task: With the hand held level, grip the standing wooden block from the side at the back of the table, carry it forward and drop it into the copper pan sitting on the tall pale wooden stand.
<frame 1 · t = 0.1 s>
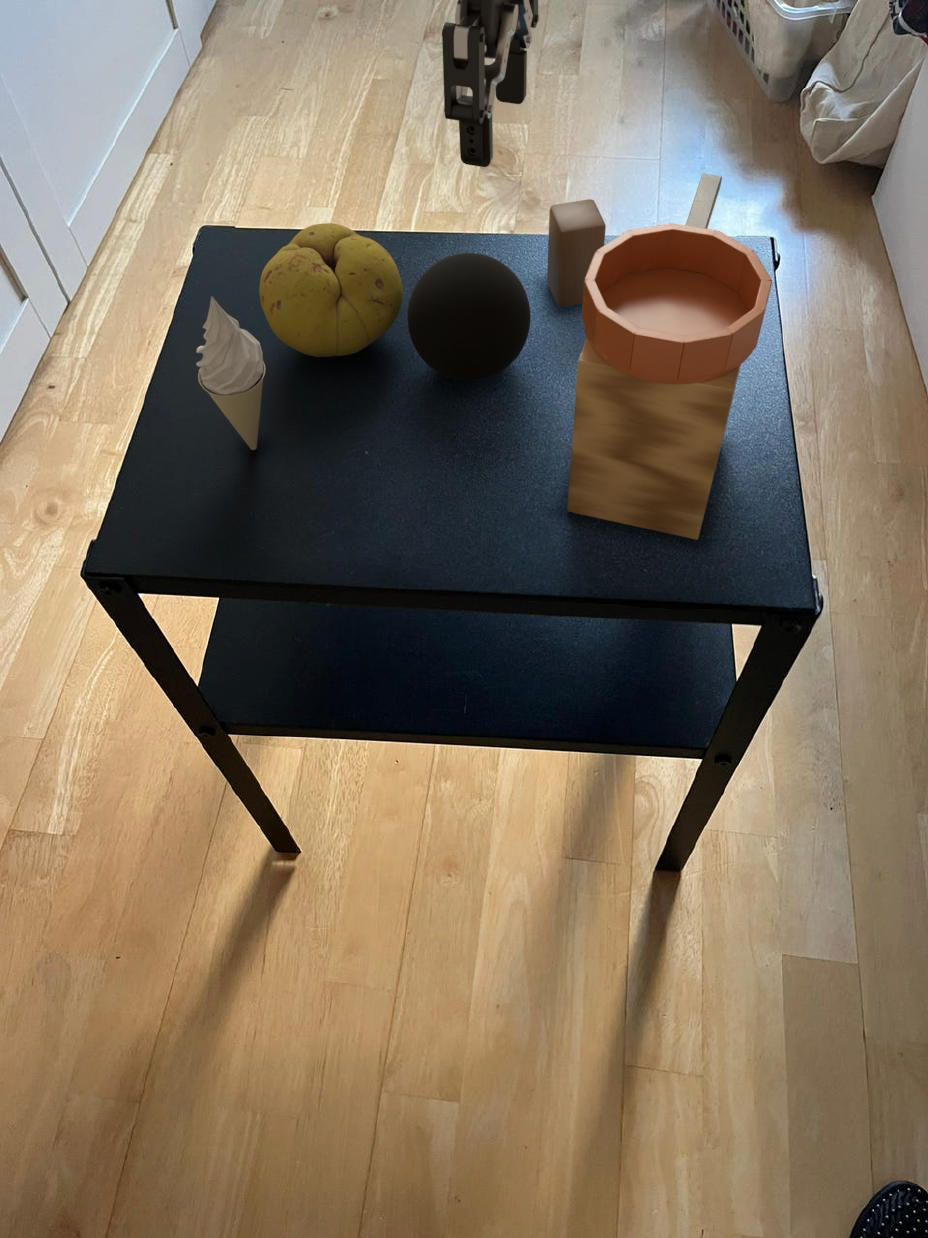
hand: (494, 130, 76), 18 cm above the table, tool pointing down, fingers open, 8 cm apart
ice cream cone: (254, 449, 84), on the table
wooden block: (572, 294, 94), on the table
decorative ball: (470, 366, 89), on the table
pan: (670, 324, 68), resting on stand
fruit: (340, 341, 91), on the table
stand: (645, 477, 81), on the table
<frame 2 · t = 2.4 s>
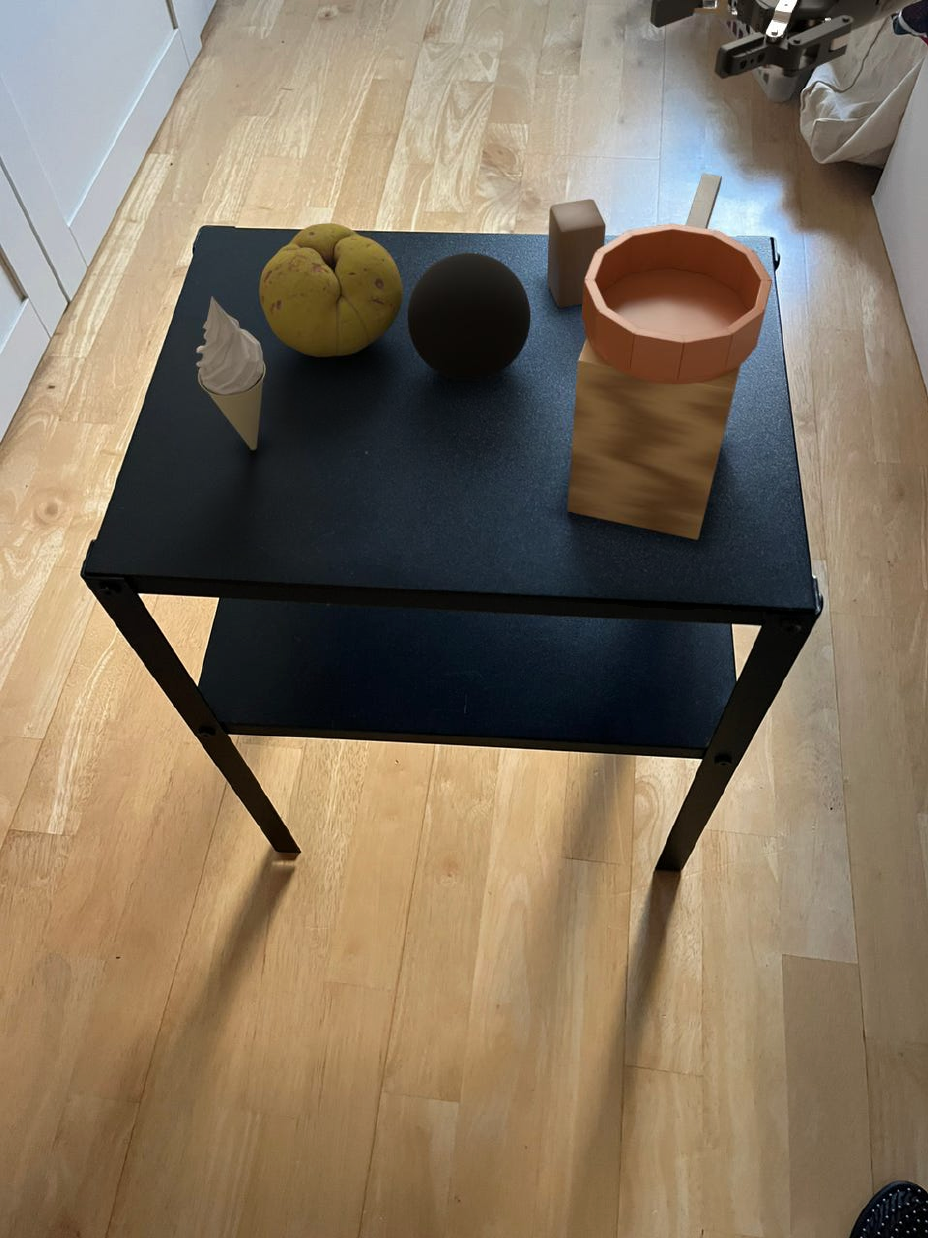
hand: (685, 37, 79), 20 cm above the table, tool horizontal, fingers open, 8 cm apart
nothing on the table moved.
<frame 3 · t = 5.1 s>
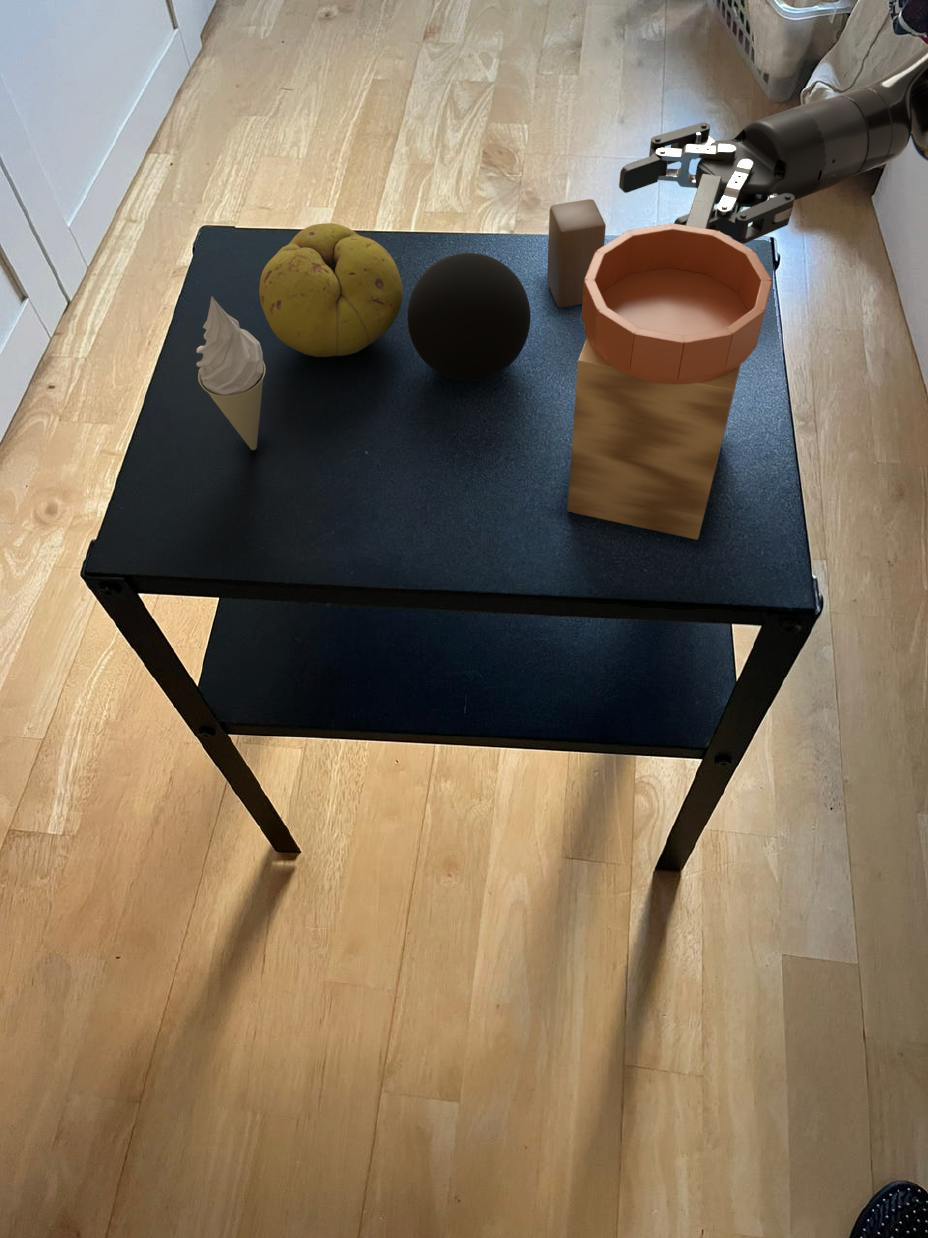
hand: (647, 206, 90), 6 cm above the table, tool horizontal, fingers open, 8 cm apart
nothing on the table moved.
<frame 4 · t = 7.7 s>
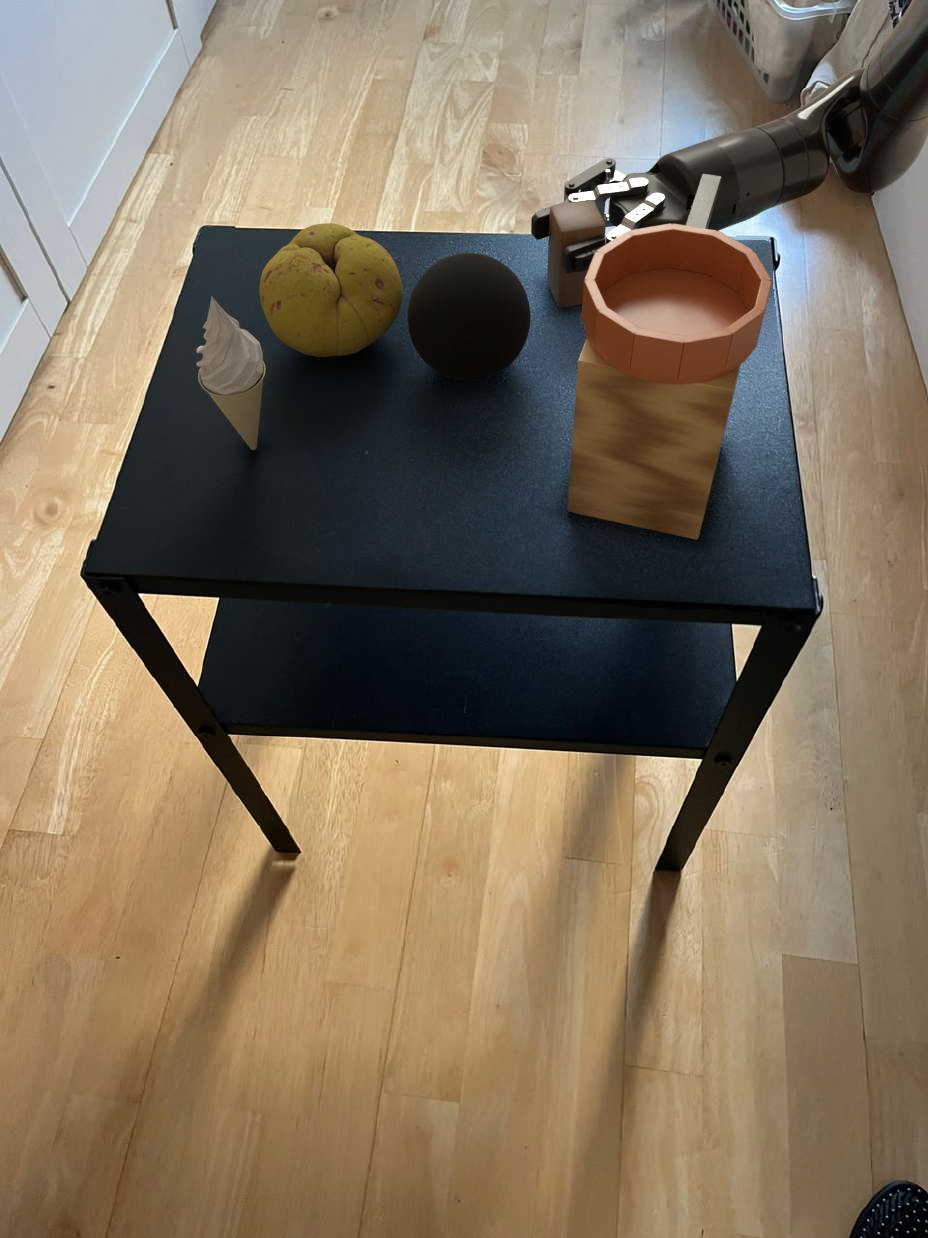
hand: (549, 244, 88), 6 cm above the table, tool horizontal, fingers closed on wooden block, 4 cm apart
wooden block: (572, 294, 94), on the table, touching gripper
everything else where it was.
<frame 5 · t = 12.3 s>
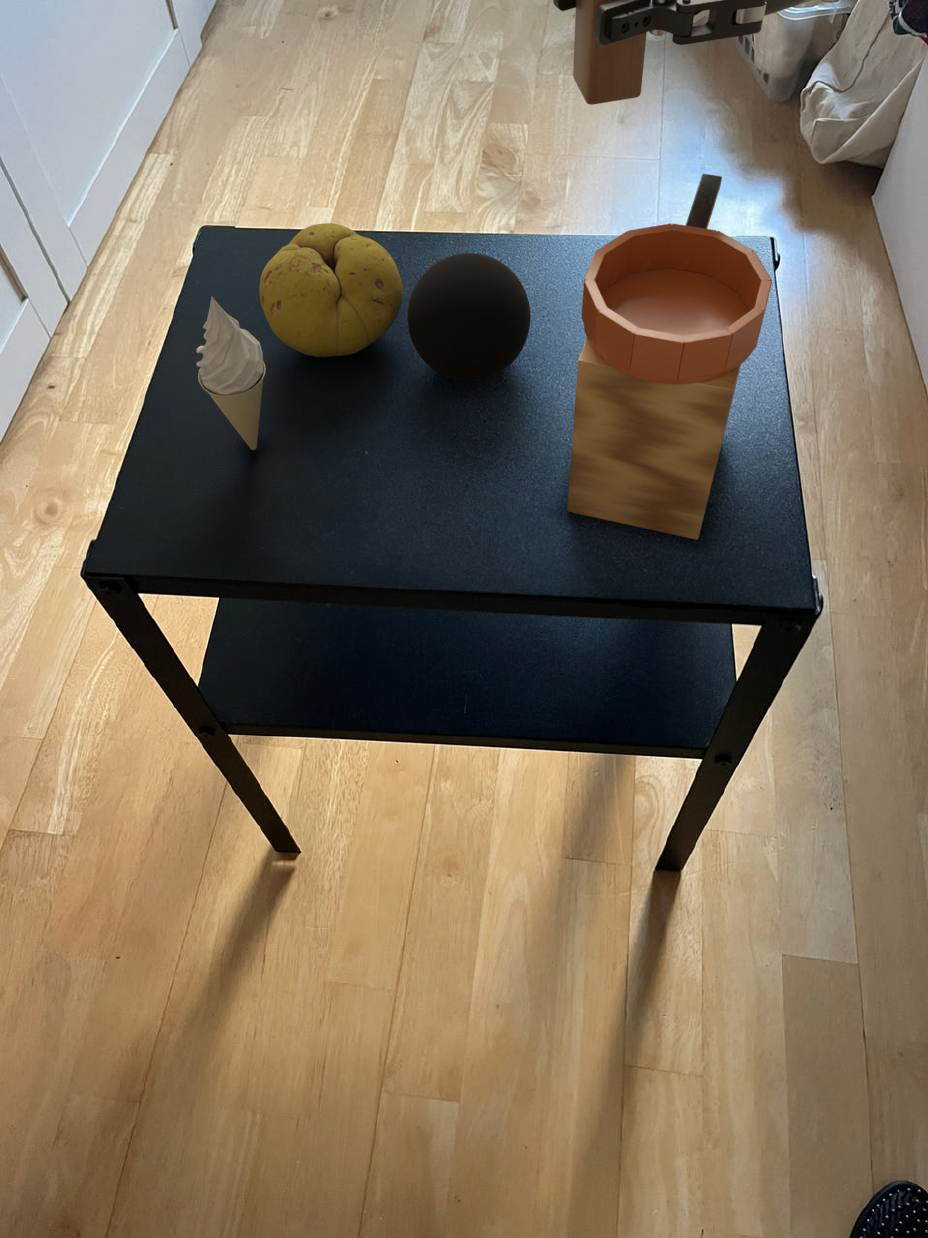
hand: (577, 9, 68), 27 cm above the table, tool horizontal, fingers closed on wooden block, 4 cm apart
wooden block: (606, 91, 73), point 21 cm above the table, touching gripper
everything else where it was.
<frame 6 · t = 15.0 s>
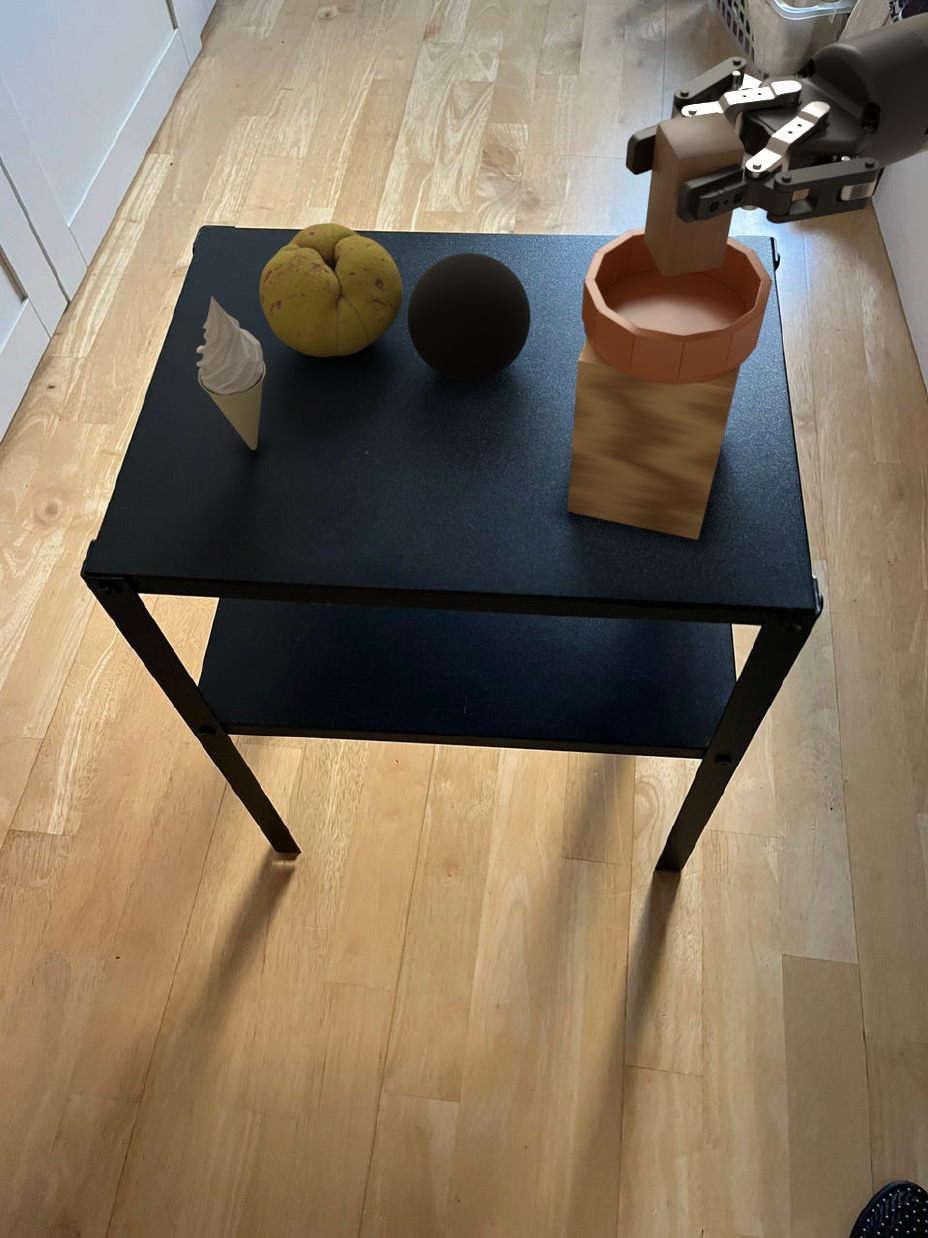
hand: (656, 180, 59), 26 cm above the table, tool horizontal, fingers closed on wooden block, 4 cm apart
wooden block: (681, 257, 64), point 20 cm above the table, touching gripper
everything else where it was.
when the fingers open (22 cm above the table, at t = 16.9 s): wooden block stays where it is, resting on pan.
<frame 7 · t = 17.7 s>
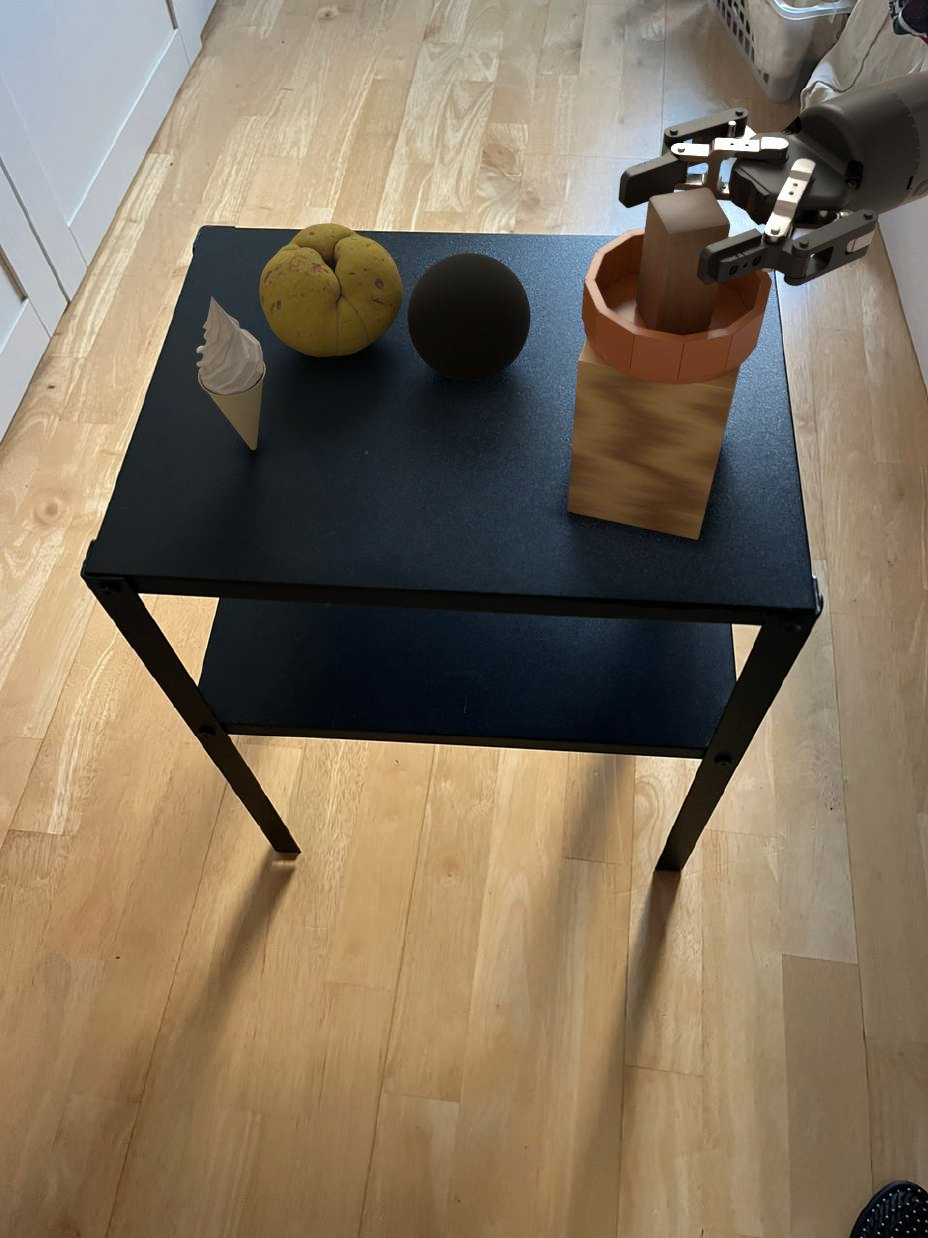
hand: (660, 228, 61), 23 cm above the table, tool horizontal, fingers open, 8 cm apart
wooden block: (671, 319, 68), point 15 cm above the table, touching pan
everything else where it was.
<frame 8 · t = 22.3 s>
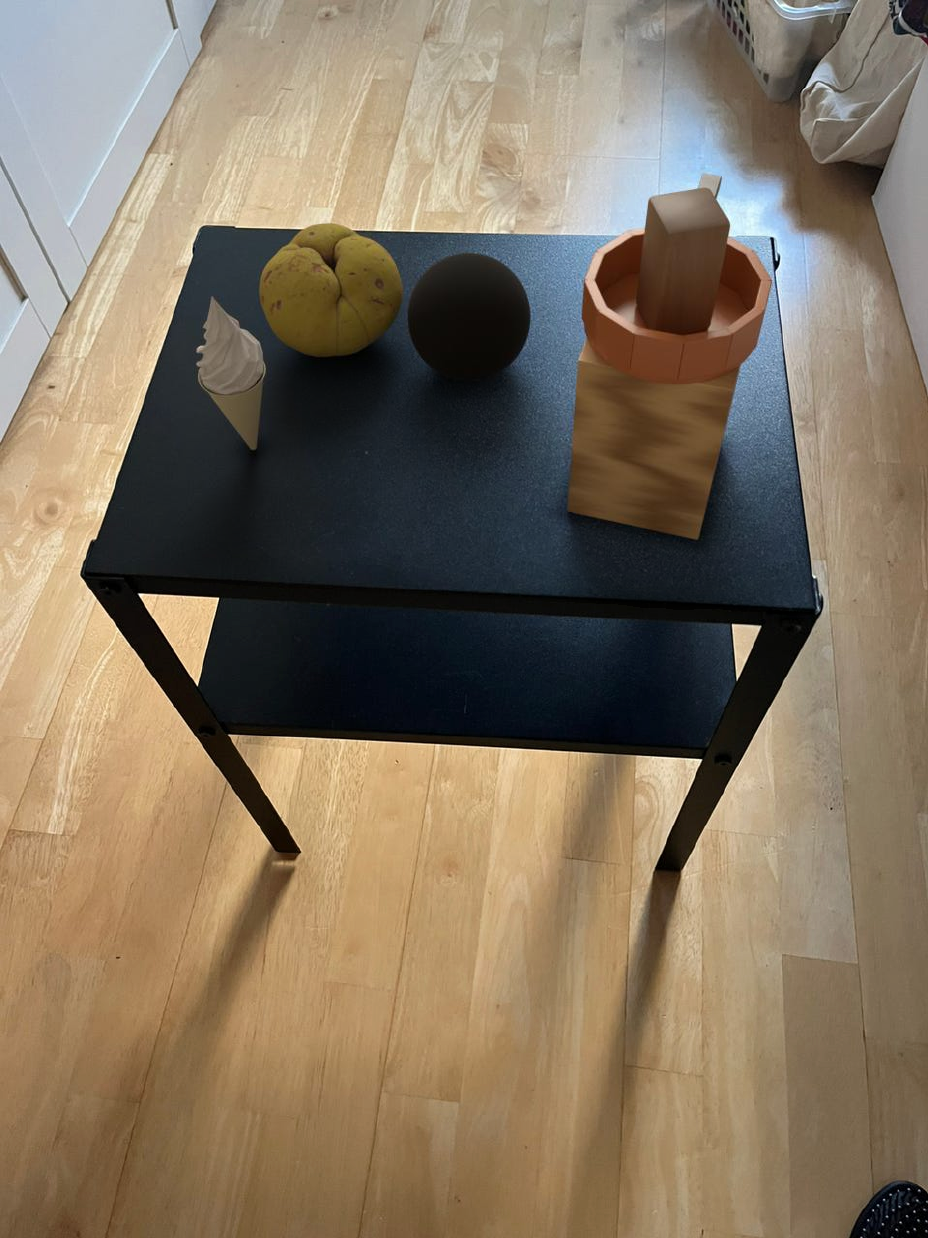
nothing on the table moved.
at the end: wooden block inside the target area on the pan (0.1 cm from its centre), point 0.3 cm above the pan's base; the gripper is holding nothing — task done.
